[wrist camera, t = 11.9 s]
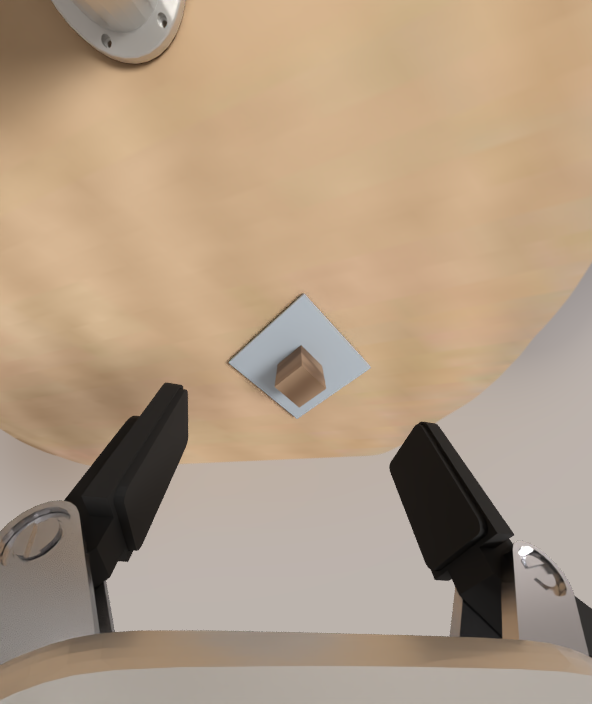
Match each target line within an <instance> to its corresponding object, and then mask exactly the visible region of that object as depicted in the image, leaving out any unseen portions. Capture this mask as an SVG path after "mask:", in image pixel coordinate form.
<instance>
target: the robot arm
mask: <svg viewBox="0 0 592 704" xmlns="http://www.w3.org/2000/svg"><path fill="white" fill-rule="evenodd" d="M51 1H52V3H53V4H54V6H55V8H56V9H57V10H58V12H59V13H60V14H61V15H62V17H63V18H64V19H65V20H66V22H67V23H68V24H69V25H70V26H71V27H72V28H73V29H74V30H75V31H76V32H77V33H78V34H79V35H80V36H81V37H82V38H83V39H84V40H85V41H86V42H88V43H89V44H90V45H91V46H92V47H94V48H95V49H96V50H97V51H99V52H101V53H103V54H104V55H106V56H108V57H109V58H112V59H114V60H117V61H120V62H123V63H133V64H138V63H143V62H148V61H150V60H152V59H154V58H156V57H157V56H159V55H160V54H161V53H162V52H163V51H164V50H165V49H166V48H167V47H168V46H169V45H170V43H171V42H172V40H173V38H174V37H175V35H176V34H177V31H178V28H179V26H180V23H181V20H182V17H183V12H184V7H185V2H186V0H51ZM166 24H167V26H166V27H165V25H166ZM187 441H188V392H187V390H185V389H183V386H182V385H178V384H171V383H164V385H163V386H162V387H161V388H160V390H159V391H158V392H157V394H156V395H155V397H154V398H153V399H152V401H151V402H150V403H149V405H148V406H147V407H146V409H145V410H144V411H143V413H142V414H141V415H140V416H132V417H130V418H129V419H128V420H127V421H126V422H125V424H124V425H123V426H122V427H121V429H120V430H119V431H118V433H117V434H116V435H115V436H114V438H113V439H112V440H111V441H110V443H109V444H108V445H107V447H106V448H105V449H104V450H103V452H102V453H101V454H100V455H99V457H98V458H97V459H96V461H95V462H94V463H93V464H92V466H91V467H90V468H89V469H88V471H87V472H86V473H85V475H84V476H83V477H82V479H81V480H80V481H79V482H78V483H77V485H76V486H75V487H74V489H73V490H72V491H71V492H70V494H69V495H68V496H67V497H66V499H65V500H64V501H60V500H59V501H51V502H47V503H43V504H40V505H37V506H35V507H33V508H31V509H29V510H27V511H25V512H23V513H22V514H20V515H19V516H17V517H16V518H15V519H13V520H12V521H11V522H9V523H8V524H7V525H6V526H5V527H4V528H3V529H2V530H1V531H0V704H592V609H591V608H590V607H588V606H587V605H586V604H585V603H583V602H582V601H580V600H579V599H578V598H577V597H575V596H574V593H573V590H572V587H571V585H570V583H569V581H568V579H567V578H566V576H565V574H564V573H563V572H562V571H561V569H560V568H559V567H558V566H557V564H556V563H555V562H554V561H553V560H552V559H551V558H550V557H549V556H548V555H547V554H545V553H544V552H543V551H541V550H540V549H539V548H537V547H536V546H534V545H532V544H531V543H528V542H525V541H516V542H514V543H513V544H512V542H511V541H510V539H509V538H510V537H512V536H513V535H514V534H513V532H512V531H511V529H510V528H509V526H508V525H507V523H506V522H505V521H504V519H503V518H502V516H501V515H500V514H499V512H498V511H497V509H496V508H495V506H494V505H493V503H492V502H491V500H490V499H489V498H488V496H487V495H486V493H485V492H484V491H483V489H482V488H481V486H480V485H479V483H478V482H477V481H476V479H475V478H474V476H473V475H472V473H471V472H470V470H469V469H468V468H467V466H466V465H465V463H464V462H463V460H462V459H461V457H460V456H459V455H458V453H457V452H456V450H455V449H454V448H453V446H452V444H451V443H450V442H449V440H448V439H447V437H446V436H445V434H444V433H443V432H442V430H441V429H440V427H439V426H438V425H437V424H435V423H428V422H420V423H419V424H417V425H415V427H414V428H413V430H412V431H411V433H410V434H409V436H408V437H407V439H406V440H405V442H404V443H403V445H402V446H401V448H400V449H399V451H398V452H397V454H396V455H395V457H394V458H393V460H392V461H391V463H390V472H391V475H392V478H393V480H394V483H395V485H396V488H397V490H398V493H399V495H400V498H401V501H402V504H403V506H404V509H405V511H406V514H407V516H408V519H409V522H410V524H411V527H412V529H413V532H414V535H415V537H416V540H417V542H418V545H419V548H420V550H421V553H422V555H423V558H424V560H425V563H426V565H427V566H428V568H430V569H431V571H432V574H433V576H434V579H435V580H445V581H448V580H451V579H452V580H453V582H454V585H455V595H454V603H453V612H452V620H451V629H450V637H444V636H413V635H379V634H341V633H301V632H254V631H126V632H115V630H114V624H113V618H112V613H111V607H110V601H109V595H108V590H107V584H106V580H107V579H108V578H109V577H110V576H111V574H112V572H113V570H114V568H115V566H116V564H117V562H118V561H125V562H126V561H127V562H128V561H129V558H130V556H131V554H132V552H133V550H136V551H137V550H139V549H140V547H141V546H142V544H143V541H144V539H145V537H146V535H147V533H148V530H149V528H150V526H151V524H152V522H153V519H154V517H155V514H156V513H157V510H158V508H159V506H160V504H161V501H162V499H163V497H164V495H165V492H166V490H167V488H168V486H169V483H170V481H171V479H172V477H173V474H174V472H175V470H176V468H177V466H178V463H179V461H180V459H181V457H182V454H183V452H184V450H185V448H186V445H187Z"/></svg>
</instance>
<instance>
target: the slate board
mask: <svg viewBox="0 0 592 704" xmlns="http://www.w3.org/2000/svg"><path fill="white" fill-rule="evenodd" d="M301 345H302V346H303V347H304V348H305V349H306V350H307V351H308V352H309V353H310V354H311V355H312V356H313V357H314V358H315V359H316V360H317V361H318V362H319V363H320V364H321V365H322V368H323V373H324V379H325V384H326V389H325V390H324V391H322V392H321V393H320V394H318V395H317V396H315V397H314V398H312V399H311V400H310V401H308V402H307V403H305V404H304V405H302V406H301V407H300V408H299V407H298V406H296V405H295V404H294V403H293V402H292V401H291V400H289V399H288V398H287V397H286V396H285V395H283V394H282V393H281V392H280V391H279V390H278V389H276V388H275V379H276V372H277V365H278V363H280V362H281V361H282V360H283V359H285V358H286V357H287V356H288V355H289V354H291V353H292V352H293V351H294V350H296V349H297V348H298V347H299V346H301ZM229 364H231V365H232V366H233V367H234V368H235V369H237V370H238V371H239V372H240V373H242V374H243V375H244V376H245V377H246V378H248V379H249V380H250V381H251V382H253V383H254V384H255V385H256V386H258V387H259V388H260V389H261V390H262V391H264V392H265V393H266V394H267V395H269V396H270V397H271V398H272V399H273V400H275V401H276V402H277V403H278V404H280V405H281V406H282V407H283V408H284V409H286V410H287V411H288V412H289V413H291V414H292V415H293V416H294V417H295V418H297V419H298V418H299V417H301V416H302V415H303V414H305V413H306V412H308V411H309V410H311V409H312V408H314V407H315V406H316V405H318V404H319V403H321V402H322V401H324V400H325V399H327V398H328V397H329V396H331V395H332V394H334V393H335V392H337V391H338V390H340V389H341V388H342V387H344V386H345V385H347V384H348V383H350V382H351V381H353V380H354V379H356V378H357V377H358V376H360V375H361V374H363V373H364V372H366V371H367V370H369V369H370V368H371V367H370V365H369V364H368V363H367V362H366V361H365V360H364V359H363V357H362V356H361V355H360V354H359V353H358V352H357V351H356V350H355V349H354V348H353V346H352V345H351V344H350V343H349V342H348V341H347V340H346V339H345V338H344V337H343V335H342V334H341V333H340V332H339V331H338V330H337V329H336V328H335V327H334V326H333V324H332V323H331V322H330V321H329V320H328V319H327V318H326V317H325V316H324V315H323V313H322V312H321V311H320V310H319V309H318V308H317V307H316V306H315V305H314V304H313V302H312V301H311V300H310V299H309V298H308V297H307V296H306V295H305V294H304V293H303V294H302V295H301V296H300V297H299V298H298V299H297V300H295V301H294V302H293V303H292V304H291V305H290V306H289V307H288V308H287V309H286V310H284V311H283V312H282V313H281V314H280V315H279V316H278V317H277V318H276V319H275V320H273V321H272V322H271V323H270V324H269V325H268V326H267V327H266V328H265V329H264V330H262V331H261V332H260V333H259V334H258V335H257V336H256V337H255V338H254V339H253V340H252V341H250V342H249V343H248V344H247V345H246V346H245V347H244V348H243V349H242V350H241V351H239V352H238V353H237V354H236V355H235V356H234V357H233V358H232V359H231V360H230V361H229Z"/></svg>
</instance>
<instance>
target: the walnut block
mask: <svg viewBox="0 0 592 704" xmlns="http://www.w3.org/2000/svg"><path fill="white" fill-rule="evenodd" d="M275 388H276V389H278V390H279V391H280V392H281V393H282V394H283V395H285V396H286V397H287V398H288V399H289V400H291V401H292V402H293V403H294V404H295V405H296V406H298V407H299V408H300V407H301V406H302V405H304V404H305V403H307V402H308V401H310V400H311V399H312V398H314V397H315V396H317V395H318V394H320V393H321V392H322V391H324V390H325V389H326V384H325V379H324V373H323V368H322V365H321V364H320V363H319V362H318V361H317V360H316V359H315V358H314V357H313V356H312V355H311V354H310V353H309V352H308V351H307V350H306V349H305V348H304V347H303V346H302V345H301V346H299V347H298V348H297V349H296V350H294V351H293V352H292V353H291V354H289V355H288V356H287V357H286V358H285V359H283V360H282V361H281V362H280V363H278V365H277V372H276V379H275Z"/></svg>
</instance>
